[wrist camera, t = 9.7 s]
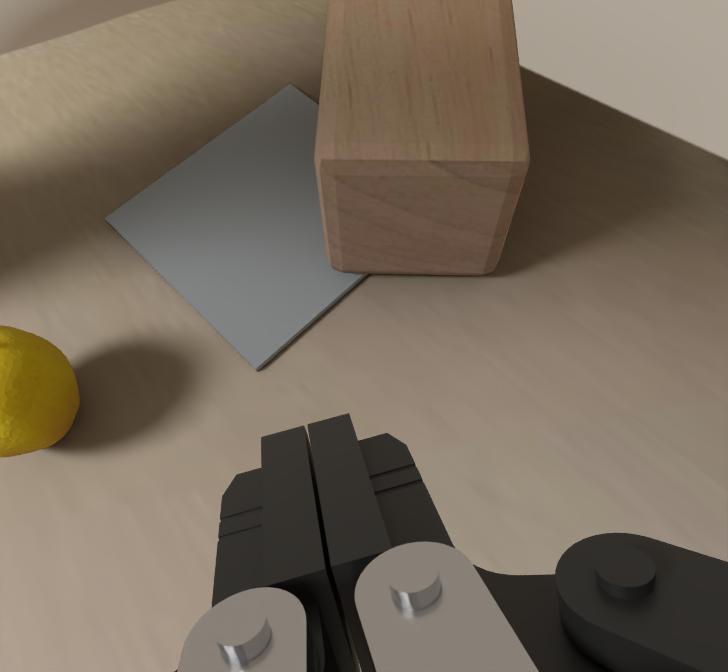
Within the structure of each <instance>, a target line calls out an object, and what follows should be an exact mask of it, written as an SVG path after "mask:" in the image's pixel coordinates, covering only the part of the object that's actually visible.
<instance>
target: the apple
mask: <svg viewBox="0 0 728 672" xmlns="http://www.w3.org/2000/svg"><path fill="white" fill-rule="evenodd" d="M79 406H80V398H79V391H78V385H77V380H76V377H75V374H74V371H73V369H72V367H71V365H70V362H69V361H68V359H67V357H66V356H65V355H64V354H63V353H62V352H61V351H60V350H59V349H58V348H57V347H56V346H54V345H53V344H52V343H50V342H49V341H47V340H45V339H43V338H42V337H39V336H37V335H35V334H32V333H29V332H26V331H23V330H19V329H16V328H12V327H8V326H2V325H1V326H0V457H11V456H16V455H21V454H25V453H30V452H33V451H37V450H40V449H43V448H46V447H49V446H51V445H53V444H55V443H56V442H57V441H59V440H60V439H62V438H63V437H64V436H65V434H66V433H67V432H68V431H69V429H70V428H71V426H72V424H73V422H74V419H75V417H76V414H77V411H78V409H79Z"/></svg>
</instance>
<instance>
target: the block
mask: <svg viewBox="0 0 728 672" xmlns="http://www.w3.org/2000/svg"><path fill="white" fill-rule="evenodd" d="M314 161H315V169H316V177H317V184H318V192H319V200H320V208H321V215H322V223H323V231H324V238H325V246H326V254H327V258H328V260H329V262H330V265H331V267H332V268H333V269H334V270H336V271H339V272H342V273H370V274H425V275H480V276H481V275H485V274H488V273H491V272H492V271H494V270H495V268H496V266H497V264H498V261H499V259H500V256H501V253H502V250H503V246H504V243H505V240H506V237H507V234H508V231H509V228H510V224H511V221H512V218H513V215H514V212H515V209H516V205H517V202H518V199H519V196H520V193H521V190H522V186H523V183H524V180H525V177H526V174H527V171H528V168H529V164H530V161H531V160H530V151H529V143H528V134H527V125H526V117H525V108H524V100H523V91H522V83H521V74H520V65H519V57H518V49H517V40H516V31H515V23H514V14H513V6H512V0H329V3H328V14H327V25H326V35H325V46H324V57H323V68H322V78H321V89H320V100H319V111H318V121H317V132H316V143H315V154H314Z"/></svg>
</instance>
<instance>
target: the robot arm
mask: <svg viewBox="0 0 728 672" xmlns="http://www.w3.org/2000/svg"><path fill="white" fill-rule="evenodd" d="M308 432H309V438H310V442H309V439H308V435H307V432H306V429H305V427H304V426H300V427H297V428H293V429H289V430H286V431H282V432H278V433H275V434H271V435H267V436H264V437H262V438H261V464H262V468H259V469H255V470H252V471H248V472H244V473H241V474H237V475H236V476H235V478H234V479H233V481H232V482H231V484H230V485H229V487H228V488H227V490H226V491H225V493H224V494H223V496H222V503H221V514H220V520H221V522H220V524H219V535H218V537H219V541H218V546H217V556H216V567H215V577H214V588H213V598H212V608H211V609H210V610H209V611H208V612H207V613H205V614H204V615H203V616H202V617H201V618H200V620H199V621H198V622H197V623H196V624H195V626H194V627H193V628H192V630H191V631H190V633H189V635H188V637H187V639H186V641H185V643H184V646H183V649H182V653H181V658H180V662H179V666H178V669H177V670H176V671H175V672H360V667H361V671H362V672H728V562H726V561H723V560H719V559H716V558H713V557H710V556H707V555H703V554H700V553H697V552H694V551H691V550H687V549H684V548H681V547H678V546H674V545H671V544H668V543H665V542H662V541H658V540H655V539H652V538H649V537H645V536H641V535H636V534H628V533H606V534H600V535H595V536H591V537H588V538H585V539H583V540H581V541H579V542H577V543H575V544H574V545H572V546H571V547H570V548H568V549H567V550H566V551H565V553H564V554H563V555H562V556H561V558H560V560H559V561H558V564H557V567H556V571H555V574H552V575H505V574H498V573H494V572H490V571H487V570H484V569H482V568H479V567H477V566H475V565H473V564H472V563H471V562H470V560H469V559H468V558H467V557H466V556H465V555H464V554H463V553H461V552H460V551H458V550H457V549H455V547H454V546H453V544H452V542H451V540H450V538H449V535H448V533H447V531H446V529H445V527H444V525H443V523H442V520H441V518H440V516H439V514H438V512H437V510H436V507H435V505H434V503H433V501H432V499H431V497H430V495H429V492H428V490H427V488H426V486H425V484H424V483H423V480H422V477H421V475H420V473H419V471H418V469H417V467H416V466H415V462H414V460H413V458H412V456H411V454H410V452H409V450H408V447H407V445H406V444H404V443H402V442H401V441H399V440H398V439H396V438H394V437H393V436H391V435H390V434H388V433H385V434H381V435H378V436H374V437H371V438H367V439H363V440H360V441H358V440H357V437H356V433H355V430H354V427H353V424H352V421H351V418H350V415H349V413H348V414H344V415H340V416H337V417H333V418H329V419H326V420H322V421H318V422H315V423H311V424H308ZM310 444H311V446H310ZM358 660H359V662H358ZM359 664H360V667H359Z"/></svg>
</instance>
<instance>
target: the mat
mask: <svg viewBox="0 0 728 672" xmlns="http://www.w3.org/2000/svg"><path fill="white" fill-rule="evenodd" d="M318 111H319V105H318V104H317V103H315V102H314V101H313V100H311V99H310V98H309V97H307V96H306V95H305V94H303V93H302V92H301V91H299V90H298V89H296V88H295V87H294V86H292V85H291V84H289V85H287V86H286V87H285V88H283V89H282V90H280V91H279V92H278V93H276V94H275V95H274V96H272V97H271V98H269V99H268V100H267V101H265V102H264V103H263V104H261V105H260V106H258V107H257V108H256V109H254V110H253V111H251V112H250V113H249V114H247V115H246V116H245V117H243V118H242V119H240V120H239V121H238V122H236V123H235V124H234V125H232V126H231V127H229V128H228V129H227V130H225V131H224V132H222V133H221V134H220V135H218V136H217V137H216V138H214V139H213V140H211V141H210V142H209V143H207V144H206V145H205V146H203V147H202V148H200V149H199V150H198V151H196V152H195V153H193V154H192V155H191V156H189V157H188V158H187V159H185V160H184V161H182V162H181V163H180V164H178V165H177V166H176V167H174V168H173V169H171V170H170V171H169V172H167V173H166V174H165V175H163V176H162V177H160V178H159V179H158V180H156V181H155V182H153V183H152V184H151V185H149V186H148V187H147V188H145V189H144V190H142V191H141V192H140V193H138V194H137V195H136V196H134V197H133V198H131V199H130V200H129V201H127V202H126V203H124V204H123V205H122V206H120V207H119V208H118V209H116V210H115V211H113V212H112V213H111V214H109V215H108V216H107V217H105V219H106V221H107V222H108V223H109V224H110V225H111V226H112V227H113V228H114V229H115V230H116V231H117V232H118V233H119V234H120V235H121V236H122V237H123V238H124V239H125V240H126V241H127V242H128V243H129V244H130V245H131V246H132V247H133V248H134V249H135V250H136V251H137V252H138V253H139V254H140V255H141V256H142V257H143V258H144V259H145V260H146V261H147V262H148V263H149V264H150V265H151V266H152V267H153V268H154V269H155V270H156V271H157V272H158V273H159V274H160V275H161V276H162V277H163V278H164V279H165V280H166V281H167V282H168V283H169V284H170V285H171V286H172V287H173V288H174V289H175V290H176V291H177V292H178V293H179V294H180V295H181V296H182V297H183V298H184V299H185V300H186V301H187V302H188V303H189V304H190V305H191V306H192V307H193V308H194V309H195V310H196V311H197V312H198V313H199V314H200V315H201V316H202V317H203V318H204V319H205V320H206V321H207V322H208V323H209V324H210V325H211V326H212V327H213V328H214V329H215V330H216V331H217V332H218V333H219V334H220V335H221V336H222V337H223V338H224V339H225V340H226V341H227V342H228V343H229V344H230V345H231V346H232V347H233V348H234V349H235V350H236V351H237V352H238V353H239V354H240V355H241V356H242V357H243V358H244V359H245V360H246V361H247V362H248V363H249V364H250V365H251V366H252V367H253V368H254V369H255V370H256V371H259V370H260V369H261V368H262V367H263V366H264V365H265V364H266V363H268V362H269V361H270V360H271V359H272V358H273V357H274V356H276V355H277V354H278V353H279V352H280V351H281V350H282V349H284V348H285V347H286V346H287V345H288V344H289V343H290V342H291V341H293V340H294V339H295V338H296V337H297V336H298V335H299V334H301V333H302V332H303V331H304V330H305V329H306V328H307V327H308V326H310V325H311V324H312V323H313V322H314V321H315V320H316V319H318V318H319V317H320V316H321V315H322V314H323V313H324V312H326V311H327V310H328V309H329V308H330V307H331V306H332V305H333V304H335V303H336V302H337V301H338V300H339V299H340V298H341V297H343V296H344V295H345V294H346V293H347V292H348V291H349V290H351V289H352V288H353V287H354V286H355V285H356V284H357V283H358V282H360V281H361V280H362V279H363V278H364V277H365V276H366V275H368V274H369V273H342V272H339V271H336V270H334V269H333V268H332V267H331V265H330V262H329V260H328V258H327V254H326V246H325V238H324V231H323V223H322V215H321V208H320V200H319V192H318V184H317V177H316V169H315V161H314V154H315V143H316V132H317V121H318Z"/></svg>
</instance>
